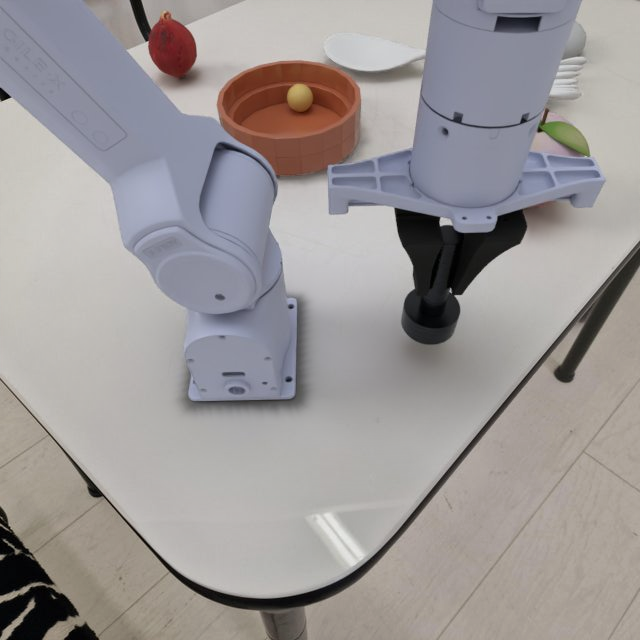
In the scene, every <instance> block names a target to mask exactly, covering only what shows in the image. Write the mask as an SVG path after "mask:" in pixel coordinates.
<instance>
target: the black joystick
mask: <svg viewBox="0 0 640 640" xmlns="http://www.w3.org/2000/svg"><path fill="white" fill-rule="evenodd" d="M440 227H441V231H442V236H443V241H444V245H443V246H442V248H441V249H440V251H439V253H438V255H437V258H436V260H435V263H434V266H433V269H432V274H431V282H430V288H429V292H428V294H427V296H417V295H416V293H415V288H414V289H412V290H411V291H409V293H407V295H406V296H405V298H404V301H403V306H402V312H401V319H400V323H401V327H402V330H403V332H404V333H405V334H406V335H407V337H408V338H410V339H411V340H412V341H415V342H416V343H419V344H421V345H427V346H436V345H440V344H444V343H446V342H447V341H449V340H450V339H451V338H452V336H454V333H455V331H456V328H457V325H458V323H459V318H460V315H461V304H460V302H459V299H458V298H457V297H456V295H452V291H451V285H452V281H453V277H454V274H455V270H456V267H457V263H458V259H459V256H460V252H461V248H462V245H463V241H464V233H462V232H458V231H457V230H455V229H454V227H453V225H452V224H444V225H443V224H442V225H440Z"/></svg>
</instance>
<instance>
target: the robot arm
mask: <svg viewBox="0 0 640 640" xmlns="http://www.w3.org/2000/svg"><path fill="white" fill-rule="evenodd" d="M582 2H583V0H432V2H431V3H432V4H431V10H430V17H429V25H428V33H427V41H426V47H425V49H426V54H425V59H424V62H423V69H422V76H421V84H420V91H419V97H418V106H417V113H416V119H415V127H414V135H413V140H412V141H413V143H412V147H410V148H405V149H402V150H398V151H394V152H390V153H386V154H382V155H378V156H374V157H370V158H367V159H363V160H357V161H354V162H348V163H337V164H334V165H328V168H327V196H328V197H327V199H328V200H327V201H328V202H327V203H328V215H329V216H337V215H340V216H341V215H347V214H348V213H349V209H350V208H349V207H379V206H381V207H382V206H384V207H385V206H386V207H390V208H393V209H394V216H395V217H394V218H395V224H396V230H397V235H398V238H399V242H400V243H401V246H402V248H403V250H404V251H405V253H406V254H407V256H408V258H409V260H410V262H411V264H412V280H413V285H414V289H415V293H416V295H417V296H427V294H428V292H429V288H430V282H431V274H432V269H433V266H434V263H435V260H436V258H437V255H438V253H439V251H440V249H441V248H442V246H443V245H444V241H443V236H442V231H441V227H440V226H441V223H440V222H441V218H443V219H448V220H450V221H451V225H453V227H454V229H455V230H457V231H458V232H462V233H464V241H463V245H462V248H461V252H460V256H459V259H458V263H457V267H456V270H455V274H454V277H453V281H452V285H451V288H450V292H451V293H452V295H454V296H462V295H463V294H464V293H465V292H466V290H467V289H468V288H469V286H470V285H471V284H472V283H473V281H474V280H475V279H476V278H477V276H479V274H480V273H481V272H482V271H483V270H484V269H485V268H486V267H487V266H488V265H489V264H490V263H492V261H493V260H495V259H497V258H498V257H499V256H501V255H502V254H504V253H506V252H507V251H509V250H510V249H512V248H514V247H516V246H518V245H520V244H521V243H522V241H523V239H524V237H525V235H526V233H527V230H528V222H527V219H526V217H525V214H524V209H527V208H531V207H530V206H533V205H537V204H540V203H543V202H547V201H556V202H560V201H561V202H562V201H563V202H564V201H569V203H570V205H571V206H572V207H573V208H574V209H589V208H590V209H591V208H593V207H594V205H595V203H596V200H597V199H598V198H599V195H600V193H601V191H602V189H603V187H604V185H605V183H606V181H607V179H606V177H605V175H604V173H603V171H602V170H601V168H600V165H599V164H598V162H597V161H596V158H595V157H594V156H590V157H587V156H585V157H571V156H563V155H556V154H550V153H544V152H538V151H533V150H530V148H531V145H532V143H533V140H534V137H535V134H536V131H537V128H538V125H539V122H540V119H541V116H542V114H543V111H545V109H546V105H547V103H548V101H549V98H548V97H549V94H550V91H551V88H552V86H553V83H554V80H555V77H556V74H557V71H558V68H559V65H560V63H561V60H562V57H563V54H564V51H565V48H566V45H567V42H568V40H569V37H570V34H571V31H572V28H573V25H574V22H575V21H576V19H577V15H578V14H579V12H580V11H579V10H580V8H581V5H582ZM0 88H1V90H3V91H4V92H5V93H6V94H8V95H9V97H11V99H13V100H14V101H15V102H17V103H18V105H19V106H21V107H22V108H23V109H24V110H25V111H27V112H28V113H29V114H30V115H31V116H32V117H33V118H34V119H35V120H37V122H39V123H40V124H41V125H42V126H43V127H44V128H45V129H46V130H48V132H50V133H51V134H52V135H54V137H56V139H58V140H59V141H60V142H61V143H62V144H64V146H66V147H67V148H68V149H69V150H70V151H71V152H73V153H74V154H75V155H76V156H77V157H78V158H79V159H80V160H82V162H84V163H85V164H86V165H87V166H88V167H89V168H90V169H92V170H93V171H94V172H95V173H96V174H97V175H98V176H99V177H100V178H102V179H103V181H105V182H106V183H107V184H108V185H109V187H110V190H111V191H112V197H113V202H114V207H115V213H116V218H117V222H118V228H119V232H120V238H121V241H122V246H123V247H124V249H125V250H127V251H128V252H129V253H130V254H132V255H133V256H134V257H135V258H136V259H138V260H139V261H140V262H141V263H142V264H143V266H145V268H146V269H147V271H148V273H149V274H150V276H151V279H152V280H153V282H154V284H155V285H156V287H157V288H158V289H159V290H160V291H161V292H162V293H163V295H164V296H166V297H168V298H169V299H170V300H171V301H173V302H174V303H176V304H177V305H180V306H181V307H183V308H184V309H185V313H186V330H185V338H184V343H183V358H184V362H185V363H186V365H187V369H188V370H189V373H190V381H189V385H188V392H187V395H188V398H189V399H190V401H193V402H213V401H214V402H218V401H221V402H222V401H262V400H263V401H267V400H291V399H293V398H294V397H295V396H296V390H297V389H296V388H297V387H296V385H297V382H296V381H297V380H296V379H297V341H298V340H297V339H298V338H297V337H298V300H297V299H296V298H294V297H287V288H286V281H285V279H286V278H285V272H284V264H283V254H282V250H281V247H280V245H279V242H278V241H277V239H276V237H275V236H274V234H273V232H272V230H271V229H270V225H271V219H272V213H273V207H274V205H275V202H276V200H277V197H278V192H279V183H278V177H277V175H276V174H275V172H274V170H273V168H272V166H271V165H270V164H269V162H268V161H267V160H266V159H265V158H264V157H263V156H262V155H261V154H259V153H258V152H257V151H255V150H254V149H252V148H250V147H248V146H246V145H244V144H242V143H240V142H238V141H237V140H235V139H234V138H233V137H232V136H230V135H229V134H228V133H227V132H226V131H225V130H224V129H223V127H222V126H221V124H220V122H219V121H218V120H217V119H216V118H215V117H212V116H206V115H198V114H188V113H184V112H181V110H180V109H178V107H177V106H176V105H175V103H174V102H172V100H171V99H170V98H169V96H167V94H165V92H163V91H164V90H162V89H161V88H160V87H159V85H158V84H157V83H156V82H155V81H154V80H153V79H152V78H151V77H150V75H149V74H148V73H147V72H146V71H145V69H144V68H143V67H142V66H141V65H140V64H139V63H138V62H137V60H136V59H135V58H134V57H133V56H132V55H131V53H129V51H128V50H127V49H126V48H125V47H124V46H123V44H122V43H121V42H120V40H118V39H117V38H116V36H114V34H113V33H112V32H111V30H109V28H108V27H107V26H106V25H105V24H104V22H102V20H101V19H100V18H99V17H98V16H97V15H96V14H95V13H94V12H93V11H92V9H91V8H90V7H89V6H88V4H86V2H85V1H84V0H0ZM287 380H291V381H287Z"/></svg>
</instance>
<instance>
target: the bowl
mask: <svg viewBox="0 0 640 640" xmlns="http://www.w3.org/2000/svg"><path fill="white" fill-rule="evenodd" d="M296 84H304V85H306V86H308V87H309V88H310V90H311V92H312V95H313V101H312V104H311V106H310V108H309V109H307V110H306V111H303V112H297V111H295V110H293V109H292V108H291V107H290V106H289V104H288V101H287V94H288V91H289V89H290V88H291V87H292V86H294V85H296ZM216 110H217V114H218V119H219V124H220V125H221V126H222V127H223V129H224V130H225V131H226V132H227V133H228V134H229V135H230V136H232V137H233V138H234V139H235V140H237V141H238V142H240V143H242V144H244V145H246V146H248V147H250V148H252V149H254V150H255V151H257V152H258V153H259V154H261V155H262V156H263V157H264V158H265V159H266V160H267V161H268V162H269V164H270V165H271V166H272V168H273V170H274V172H275V174H276V176H284V177H286V176H287V177H290V176H293V177H294V176H303V175H308V174H313V173H316V172H320V171H324V170H326V169H328V165H335V164H340V162H342V161H344V159H346V158H347V157H348V156H349V155H350V154H351V153H352V152H353V151H354V150H355V148H356V146H357V144H358V142H359V140H360V137H361V116H362V115H361V114H362V94H361V88H360V86H359V85H358V83H357V82H356V80H355V79H354V78H353V77H352V76H351V75H349V74H348V73H346V72H345V71H343V70H341V69H340V68H337V67H335V66H331V65H328V64H325V63H322V62H318V61H317V62H316V61H308V60H301V59H299V60H296V59H295V60H294V59H293V60H277V61H273V62H267V63H263V64H259V65H256V66H253V67H251V68H247V69H245V70H243V71H241V72H239V73H238V74H237V75H235V76H233V77H232V78H230V79H229V80H228V81H226V83H225V84H224V85H223V87H222V88H221V89H220V90H219V92H218V95H217V100H216Z"/></svg>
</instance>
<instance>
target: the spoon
mask: <svg viewBox="0 0 640 640" xmlns="http://www.w3.org/2000/svg"><path fill="white" fill-rule="evenodd" d="M322 50H323V54H324V55H325V56H326V58H327V59H329V60H330V61H331V62H333V63H335V64H336V65H338V66H340V67H343V68H345V69H348V70H351V71H355V72H361V73H362V72H363V73H380V72H381V73H382V72H388V71H392V70H395V69H398V68H401V67H405V66H407V65H411V64H413V63H416V62H418V61H422V60H425V54H426V48H416V47H414V46H410V45H407V44H405V43H404V44H403V43H401V42H397V41H394V40H391V39H387V38H383V37H378V36H375V35H371V34H365V33H358V32H345V31H344V32H337V33H334V34H331V35H329V36H328V37H327V38H326V39H325V41H324V43H323V46H322ZM587 62H588V59H587V57H586V56H577V57H573V58H569V59H564V60H561V63H560V65H559V68H558V71H557V74H556V77H555V80H554V83H553V86H552V88H551V91H550V94H549V97H548V99H555V100H564V101H565V100H566V101H568V100H569V101H571V100H572V101H574V100H578V99H579V98H581V97H582V92H580V90H579V89H578V88H579V86H578V85H575V84H577V83H578V79H576V78H575V77H578V76H580V75H581V72H579V71H581V70H582V69H583V68H584V67H583V65H584V64H586V63H587Z"/></svg>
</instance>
